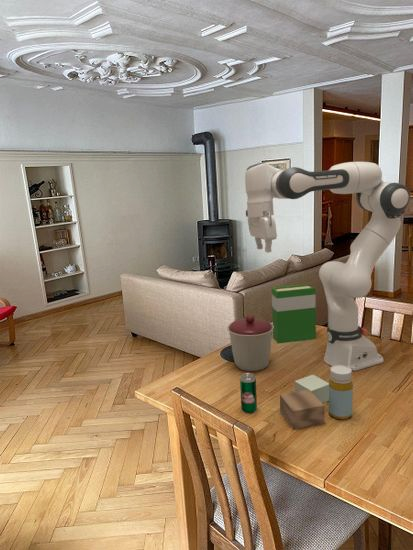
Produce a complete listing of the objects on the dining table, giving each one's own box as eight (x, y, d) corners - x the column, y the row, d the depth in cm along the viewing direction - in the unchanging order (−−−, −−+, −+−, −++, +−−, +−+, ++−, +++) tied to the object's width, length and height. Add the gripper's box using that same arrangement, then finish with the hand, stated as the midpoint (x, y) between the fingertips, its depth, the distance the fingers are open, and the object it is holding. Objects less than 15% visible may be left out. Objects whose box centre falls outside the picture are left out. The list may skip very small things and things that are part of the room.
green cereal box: (309, 333, 192) (309, 283, 187) (315, 339, 185) (315, 287, 180) (273, 337, 190) (271, 287, 185) (278, 343, 183) (276, 291, 177)
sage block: (313, 390, 142) (313, 374, 141) (329, 400, 135) (330, 383, 134) (295, 397, 139) (294, 381, 137) (311, 407, 132) (311, 391, 130)
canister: (225, 375, 157) (222, 323, 152) (233, 355, 174) (231, 307, 169) (272, 377, 153) (271, 324, 148) (276, 357, 170) (275, 308, 165)
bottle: (352, 409, 129) (353, 365, 126) (352, 421, 123) (353, 376, 119) (329, 406, 131) (329, 363, 128) (328, 418, 125) (328, 373, 122)
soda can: (240, 413, 131) (238, 379, 128) (242, 405, 136) (241, 371, 133) (255, 415, 129) (254, 380, 127) (258, 406, 134) (256, 372, 131)
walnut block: (309, 406, 132) (309, 389, 131) (324, 423, 123) (324, 405, 121) (280, 411, 130) (279, 394, 129) (293, 429, 121) (292, 411, 120)
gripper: (279, 210, 132) (282, 252, 135) (260, 209, 152) (263, 246, 155) (260, 213, 131) (264, 255, 134) (244, 211, 151) (247, 248, 154)
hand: (264, 250), depth 145 cm, fingers open, 8 cm apart
